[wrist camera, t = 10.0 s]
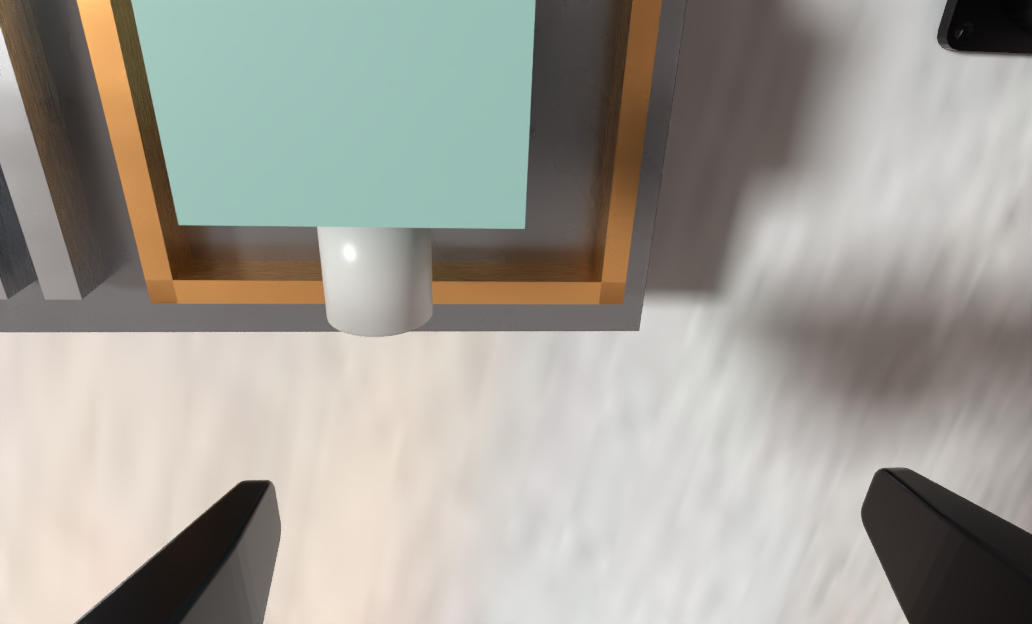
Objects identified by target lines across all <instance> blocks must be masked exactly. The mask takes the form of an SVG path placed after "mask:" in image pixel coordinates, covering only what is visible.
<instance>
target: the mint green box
mask: <svg viewBox="0 0 1032 624" xmlns="http://www.w3.org/2000/svg"><path fill="white" fill-rule="evenodd" d="M535 1H536V0H131V2H132V7H133V12H134V16H135V21H136V26H137V31H138V35H139V40H140V45H141V49H142V54H143V59H144V64H145V68H146V73H147V78H148V83H149V87H150V92H151V97H152V101H153V106H154V111H155V116H156V120H157V125H158V130H159V135H160V139H161V144H162V149H163V154H164V158H165V163H166V168H167V172H168V177H169V182H170V187H171V191H172V196H173V201H174V206H175V210H176V215H177V220H178V224H179V225H212V226H302V227H317V232H318V241H319V250H320V259H321V268H322V278H323V287H324V296H325V305H326V315H327V320H328V322H329V323H330V324H331V325H332V326H333V327H334V328H336V329H337V330H339V331H342V332H344V333H347V334H351V335H357V336H365V337H383V336H392V335H398V334H402V333H406V332H409V331H412V330H414V329H416V328H418V327H420V326H422V325H423V324H425V323H426V322H427V321H428V320H429V319H430V318H431V316H432V314H433V290H432V246H431V228H484V229H525V214H526V192H527V171H528V150H529V129H530V107H531V86H532V65H533V44H534V23H535Z"/></svg>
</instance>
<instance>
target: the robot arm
mask: <svg viewBox="0 0 1032 624" xmlns="http://www.w3.org/2000/svg"><path fill="white" fill-rule="evenodd" d="M960 24H963V32H962V34H961V35H960V36H959V37H958V38H957V39H956V37H955V34H956V30H957V28H958V26H959V25H960ZM937 39H938V43H939V44H940V45H941V46H942V48H945V49H949V50H958V51H982V52H1008V53H1032V0H947V3H946V6H945V10H944V13H943V16H942V19H941V23H940V26H939V29H938V35H937ZM861 517H862V522H863V525H864V527H865V530H866V532H867V534H868V536H869V538H870V541H871V543H872V545H873V547H874V549H875V551H876V554H877V556H878V558H879V560H880V562H881V565H882V567H883V569H884V571H885V573H886V576H887V578H888V580H889V582H890V584H891V587H892V589H893V591H894V593H895V595H896V598H897V600H898V602H899V604H900V606H901V608H902V610H903V612H904V614H905V616H906V618H907V620H908V622H909V624H1032V534H1030V533H1028V532H1026V531H1025V530H1023V529H1021V528H1019V527H1017V526H1015V525H1013V524H1012V523H1010V522H1008V521H1006V520H1004V519H1002V518H1000V517H998V516H997V515H995V514H993V513H991V512H989V511H987V510H985V509H983V508H982V507H980V506H978V505H976V504H974V503H972V502H970V501H969V500H967V499H965V498H963V497H961V496H959V495H957V494H955V493H954V492H952V491H950V490H948V489H946V488H944V487H942V486H941V485H939V484H937V483H935V482H933V481H931V480H929V479H927V478H926V477H924V476H922V475H920V474H918V473H916V472H914V471H912V470H910V469H908V468H882V469H879V470H878V471H877V472H876V473H875V474H874V476H873V479H872V482H871V484H870V487H869V489H868V492H867V495H866V497H865V500H864V502H863V505H862V509H861ZM280 535H281V522H280V516H279V510H278V504H277V498H276V492H275V487H274V485H273V483H272V482H271V481H269V480H246V481H242V482H240V483H238V484H237V485H236V486H235V487H233V488H232V489H231V490H230V491H229V492H227V493H226V494H225V495H224V496H223V497H222V498H220V499H219V500H218V501H217V502H216V503H215V504H213V505H212V506H211V507H210V508H209V509H208V510H206V511H205V512H204V513H203V514H202V515H201V516H199V517H198V518H197V519H196V520H195V521H194V522H192V523H191V524H190V525H189V526H188V527H186V528H185V529H184V530H183V531H182V532H181V533H179V534H178V535H177V536H176V537H175V538H174V539H172V540H171V541H170V542H169V543H168V544H167V545H165V546H164V547H163V548H162V549H161V550H160V551H158V552H157V553H156V554H155V555H154V556H153V557H151V558H150V559H149V560H148V561H147V562H146V563H144V564H143V565H142V566H141V567H140V568H138V569H137V570H136V571H135V572H134V573H133V574H131V575H130V576H129V577H128V578H127V579H126V580H124V581H123V582H122V583H121V584H120V585H119V586H117V587H116V588H115V589H114V590H113V591H112V592H110V593H109V594H108V595H107V596H106V597H105V598H103V599H102V600H101V601H100V602H99V603H97V604H96V605H95V606H94V607H93V608H92V609H90V610H89V611H88V612H87V613H86V614H85V615H83V616H82V617H81V618H80V619H79V620H78V621H76V622H75V623H74V624H263V620H264V615H265V611H266V606H267V601H268V596H269V591H270V586H271V581H272V576H273V572H274V567H275V562H276V557H277V552H278V547H279V542H280Z"/></svg>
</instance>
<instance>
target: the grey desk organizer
mask: <svg viewBox="0 0 1032 624" xmlns="http://www.w3.org/2000/svg"><path fill="white" fill-rule="evenodd" d="M686 3H687V0H536V1H535V23H534V44H533V65H532V86H531V107H530V129H529V150H528V171H527V192H526V214H525V229H484V228H431V246H432V290H433V314H432V316H431V318H430V319H429V320H428V321H427V322H426V323H425V324H423V325H422V326H420V327H418V328H416V329H414V330H412V331H639V327H640V321H641V314H642V307H643V300H644V293H645V286H646V279H647V272H648V265H649V258H650V251H651V245H652V238H653V231H654V224H655V217H656V210H657V203H658V196H659V189H660V182H661V175H662V169H663V162H664V155H665V148H666V141H667V134H668V127H669V120H670V113H671V106H672V99H673V93H674V86H675V79H676V72H677V65H678V58H679V51H680V44H681V37H682V30H683V23H684V17H685V10H686ZM0 332H342V331H339V330H337V329H336V328H334V327H333V326H332V325H331V324H330V323H329V322H328V320H327V315H326V305H325V296H324V287H323V278H322V268H321V259H320V250H319V241H318V232H317V227H302V226H212V225H179V224H178V220H177V215H176V210H175V206H174V201H173V196H172V191H171V187H170V182H169V177H168V172H167V168H166V163H165V158H164V154H163V149H162V144H161V139H160V135H159V130H158V125H157V120H156V116H155V111H154V106H153V101H152V97H151V92H150V87H149V83H148V78H147V73H146V68H145V64H144V59H143V54H142V49H141V45H140V40H139V35H138V31H137V26H136V21H135V16H134V12H133V7H132V2H131V0H0Z"/></svg>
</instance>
